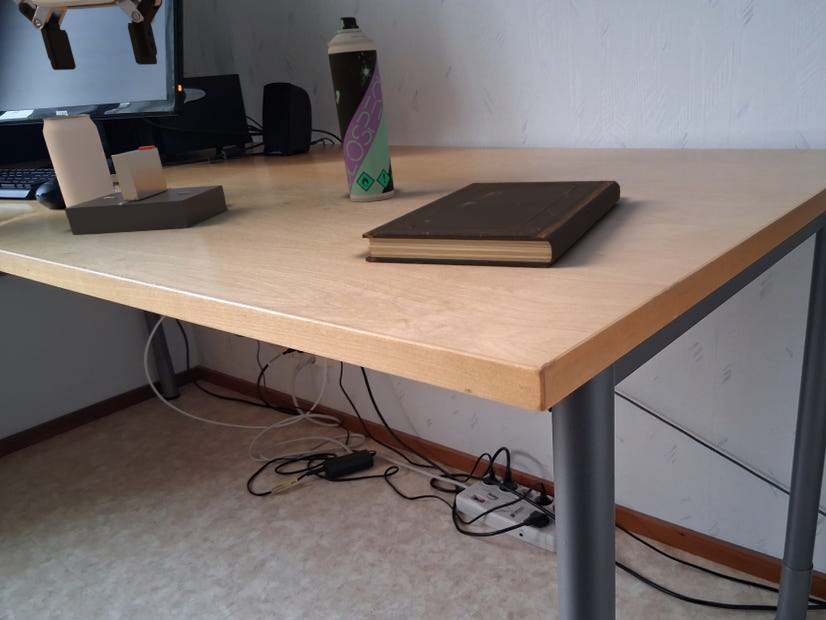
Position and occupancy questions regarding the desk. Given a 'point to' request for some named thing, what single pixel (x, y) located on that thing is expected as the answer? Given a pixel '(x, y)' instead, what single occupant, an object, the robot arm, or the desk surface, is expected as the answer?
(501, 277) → the desk surface
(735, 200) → the desk surface
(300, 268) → the desk surface
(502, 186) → the hardcover book
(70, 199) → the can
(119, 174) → the white rectangular block
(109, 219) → the dark grey base plate
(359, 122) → the spray can
